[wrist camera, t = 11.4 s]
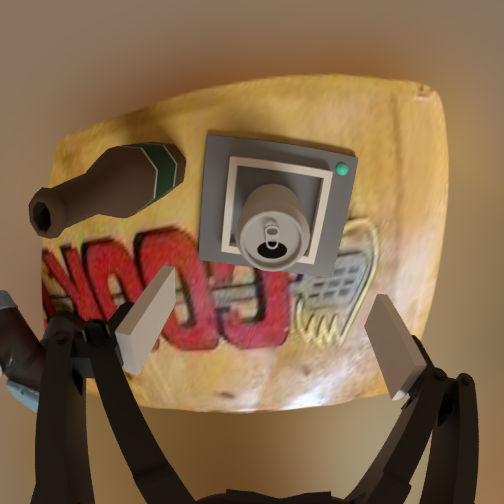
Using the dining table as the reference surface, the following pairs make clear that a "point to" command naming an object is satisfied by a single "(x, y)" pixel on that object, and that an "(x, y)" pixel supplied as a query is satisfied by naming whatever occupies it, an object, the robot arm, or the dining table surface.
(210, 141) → the dock
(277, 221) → the can
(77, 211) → the beer bottle
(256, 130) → the dining table surface
